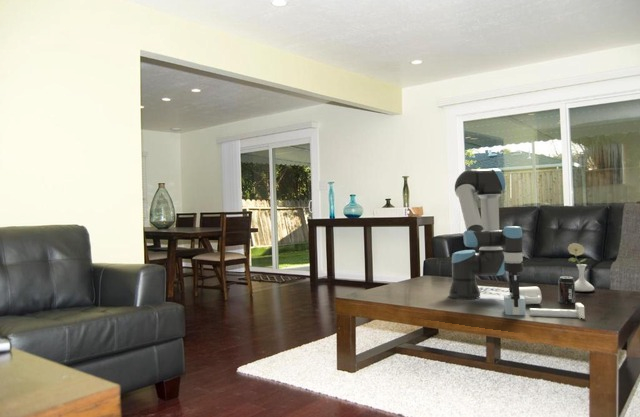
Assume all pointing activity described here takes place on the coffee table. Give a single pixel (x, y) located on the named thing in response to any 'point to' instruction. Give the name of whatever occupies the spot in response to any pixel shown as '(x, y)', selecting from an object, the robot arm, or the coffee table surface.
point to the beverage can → (566, 290)
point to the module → (508, 305)
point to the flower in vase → (581, 282)
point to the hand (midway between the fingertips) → (514, 311)
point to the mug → (531, 294)
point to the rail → (560, 312)
